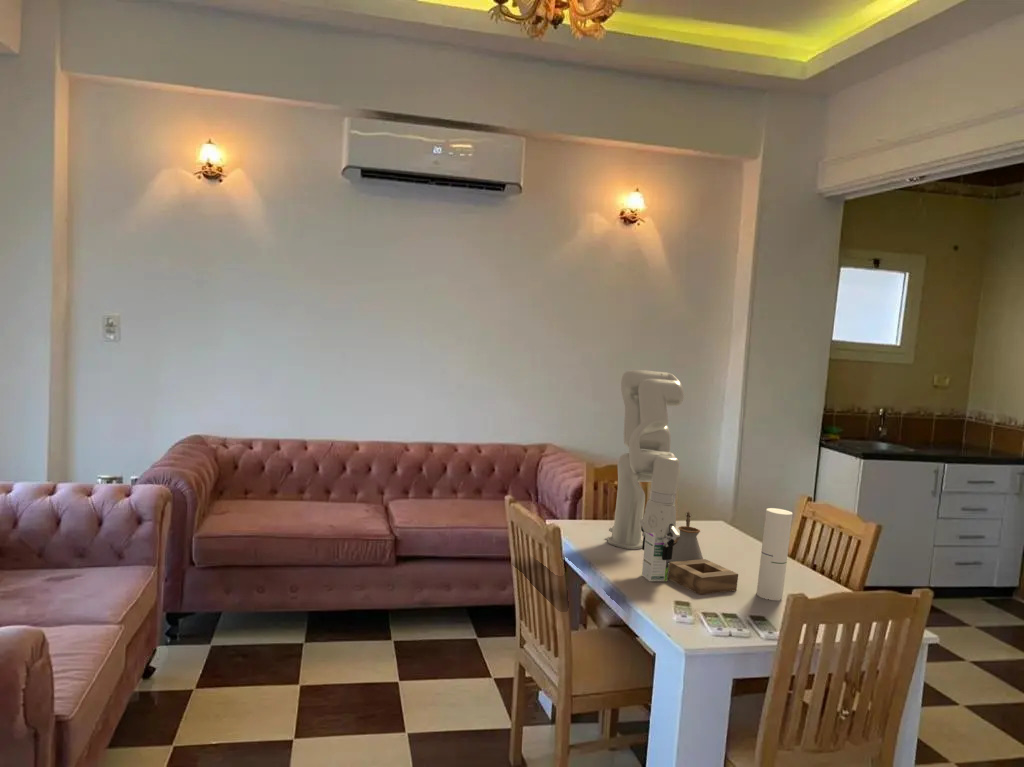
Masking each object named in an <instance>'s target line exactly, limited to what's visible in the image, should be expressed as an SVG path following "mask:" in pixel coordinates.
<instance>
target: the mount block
mask: <svg viewBox="0 0 1024 767" xmlns="http://www.w3.org/2000/svg"><path fill="white" fill-rule="evenodd" d="M668 579H669V581H671V582H675V583H676V584H678V585H680V586H682V587H684V588H686V589H688V590H689V591H691V592H693V593H695V594H697V595H699V596H702V595H710V594H720V593H727V592H736V591H737V590H738V589H737V588H738V580H739V573H737V572H735V571H733V570H730V569H728V568H726V567H724V566H721V565H719V564H717V563H715V562H713V561H711V560H708V559H706V558H703V559H700V560H688V561H677V562H670V564H669V565H668V576H667V580H668Z"/></svg>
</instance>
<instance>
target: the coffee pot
mask: <svg viewBox="0 0 1024 767" xmlns="http://www.w3.org/2000/svg"><path fill="white" fill-rule="evenodd" d="M684 516H685V517H686V519H685V525H681V526H678V528H677V529H678V530H679V535H680V538H679V539H678V541H677V543H676V544H675V546H674V547H673V552H672V559H671V560H669V564H670V562H677V561H688V560H700V559H704V557H703V554H702V551H701V547H700V544H699V540H698V535H699V533H701V530H700V529H698V528H697V527H692V526H690V524H691V520H690V519H691V517H692V516H693V515H692V513H691V512H690V511H687V512H685V513H684Z"/></svg>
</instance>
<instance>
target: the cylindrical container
mask: <svg viewBox="0 0 1024 767" xmlns="http://www.w3.org/2000/svg"><path fill="white" fill-rule="evenodd" d="M793 514H794V513H793V512H792V511H791V510H790V511H789V510H787V509H782V508H777V507H776V508H775V507H770V508H769V507H768V508H766V510H765V517H764V518H765V519H764V528H763V535H762V536H763V537H762V542H761V543H762V544H761V553H760V559H759V560H760V561H759V570H758V579H757V586H756V596H758V597H760V598H762V599H764V598H765V600H768V599H769V601H781V600H780V599H782V600H783V597H784V596H783V595H784V587H785V579H786V572H787V563H788V562H787V561H788V556H789V555H788V554H789V545H790V538H791V530H792V529H791V528H792V527H791V526H792V522H793V521H792V520H793Z"/></svg>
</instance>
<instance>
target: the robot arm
mask: <svg viewBox="0 0 1024 767" xmlns="http://www.w3.org/2000/svg"><path fill="white" fill-rule="evenodd" d="M620 390H621V396H622V400H623V404H624V419H623V421H624V422H623V443H624V445H625V447H627V448H628V452H626V453H623V454H621V455H620V456H619V457H618V460H617V465H616V466H617V494H616V502H615V503H616V504H615V513H614V523H613V526H612V527H609V528H608V532H610V533H611V536H609V537H608V538H607V542H608V543H609V544H610V545H611V546H614V547H617V548H621V549H626V550H627V549H628V550H639V549H641V550H642V551H644V546H645V535H646V532H647V533H649V534H651V533H653V532H654V533H655V534H656V537H658V538H663V541H664V544H665V546H663V553H662V559H663V560H671V559H672V552H673V547H674V546H675V544H676V543H677V541H678V539H679V538H680V532H678V530H677V528H676V526H677V523H676V522H677V507H676V496H677V490H678V488H677V487H678V479H679V471H680V460H679V459H678V458H677V457H676V455H675V454H674V453H673V452H672V451H671V444H672V443H671V442H672V439H671V438H672V437H671V436H672V435H671V431H670V427H669V426H668V424H669V416H668V407H680V406H681V405H682V404H683V401H684V399H685V398H684V396H685V395H684V394H685V393H684V387H683V384H682V382H681V381H680V380H679V379H678V378H677V377H676V376H675V375H674V374H673V373H670V372H666V371H657V370H656V371H655V370H645V369H629V370H626V371H625V372H624V373H622V376H621V381H620ZM640 483H650V490H649V498H648V499H647V502H646V493H645V491H644V489H643V487H642V486H641V485H640ZM645 503H646V504H645ZM667 535H668V536H667ZM667 539H669V542H668V540H667Z"/></svg>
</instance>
